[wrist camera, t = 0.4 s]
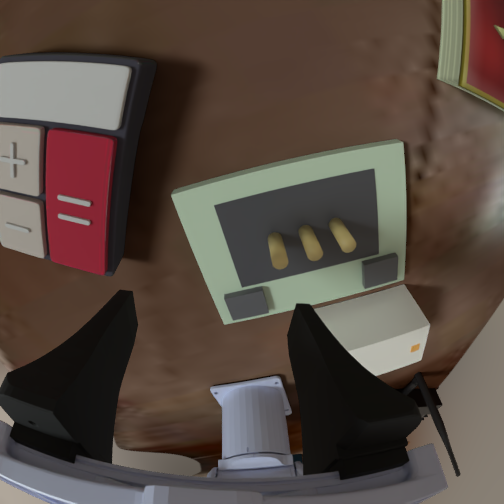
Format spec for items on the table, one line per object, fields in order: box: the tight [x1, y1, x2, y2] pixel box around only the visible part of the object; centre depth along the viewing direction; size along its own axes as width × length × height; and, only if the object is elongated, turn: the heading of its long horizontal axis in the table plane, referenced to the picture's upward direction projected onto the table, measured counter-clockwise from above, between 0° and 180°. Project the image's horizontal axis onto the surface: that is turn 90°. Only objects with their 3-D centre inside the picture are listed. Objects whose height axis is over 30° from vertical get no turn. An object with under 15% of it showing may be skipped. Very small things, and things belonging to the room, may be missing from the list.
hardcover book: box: [437, 0, 504, 111], centre depth 10 cm, size 12×21×4 cm, turn 175°
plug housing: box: [314, 284, 430, 376], centre depth 25 cm, size 5×9×6 cm, turn 104°
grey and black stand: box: [395, 372, 460, 477], centre depth 33 cm, size 20×14×17 cm
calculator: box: [0, 52, 157, 276], centre depth 17 cm, size 11×4×15 cm
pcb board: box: [171, 139, 406, 325], centre depth 21 cm, size 12×16×4 cm
